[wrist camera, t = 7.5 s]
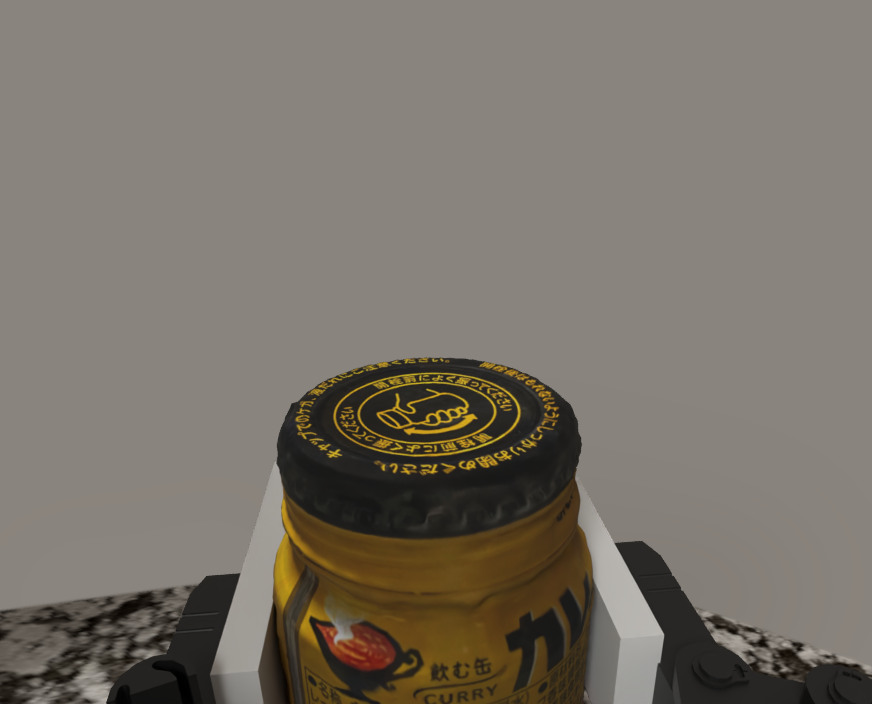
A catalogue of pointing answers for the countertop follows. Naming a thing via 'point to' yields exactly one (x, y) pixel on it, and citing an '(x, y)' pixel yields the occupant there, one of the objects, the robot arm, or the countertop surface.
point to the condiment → (432, 539)
